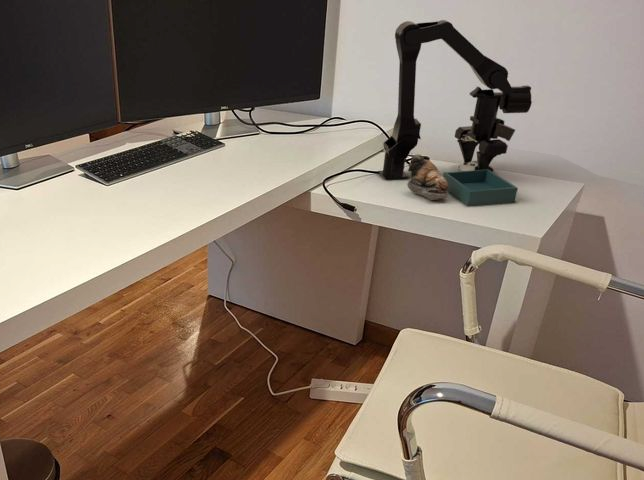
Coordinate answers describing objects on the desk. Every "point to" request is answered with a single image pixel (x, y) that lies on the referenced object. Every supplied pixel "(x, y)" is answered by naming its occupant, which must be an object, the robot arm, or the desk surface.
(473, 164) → the game controller
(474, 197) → the bin
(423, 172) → the bison figurine
